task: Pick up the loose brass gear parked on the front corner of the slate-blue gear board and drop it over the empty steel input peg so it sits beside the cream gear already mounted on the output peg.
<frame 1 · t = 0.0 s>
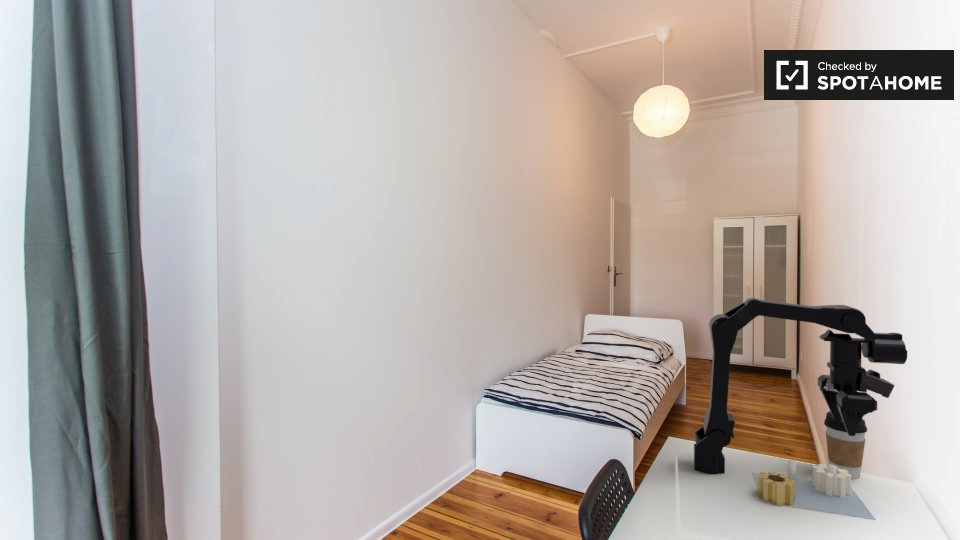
hand: (844, 428, 110), 15 cm above the table, fingers open, 9 cm apart
brass gear: (776, 497, 106), point 1 cm above the table, touching gear board
coffee cup: (844, 477, 117), on the table
gear board: (807, 497, 108), on the table
cream gear: (831, 489, 110), resting on gear board
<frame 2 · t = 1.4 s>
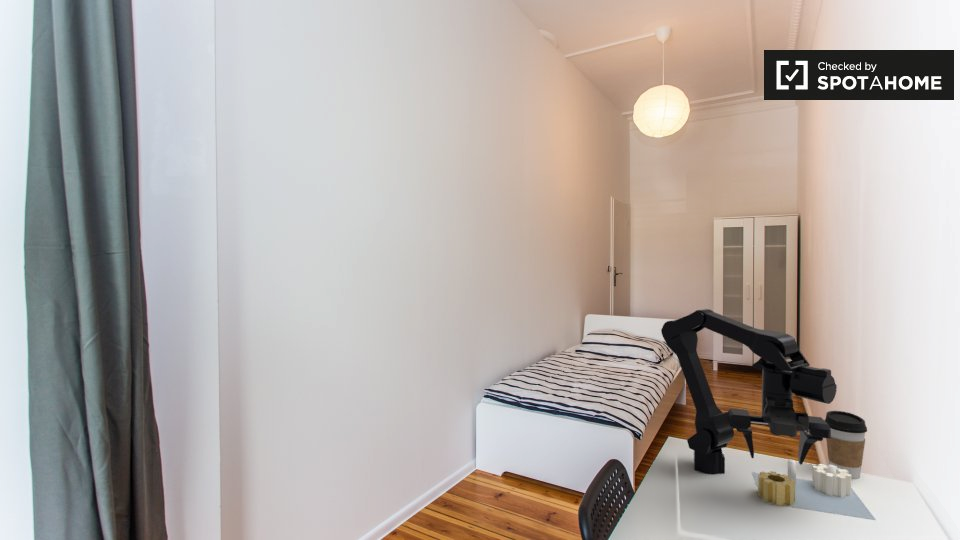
hand: (775, 460, 106), 9 cm above the table, fingers open, 9 cm apart
nothing on the table moved.
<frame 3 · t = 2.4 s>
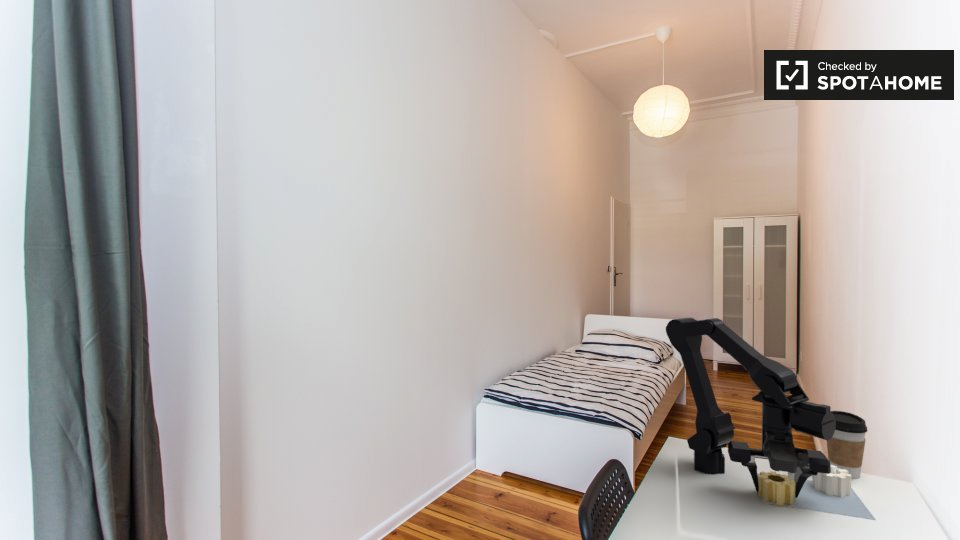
hand: (776, 494, 106), 2 cm above the table, fingers closed on brass gear, 7 cm apart
brass gear: (776, 497, 106), point 1 cm above the table, touching gear board, gripper
everything else where it was.
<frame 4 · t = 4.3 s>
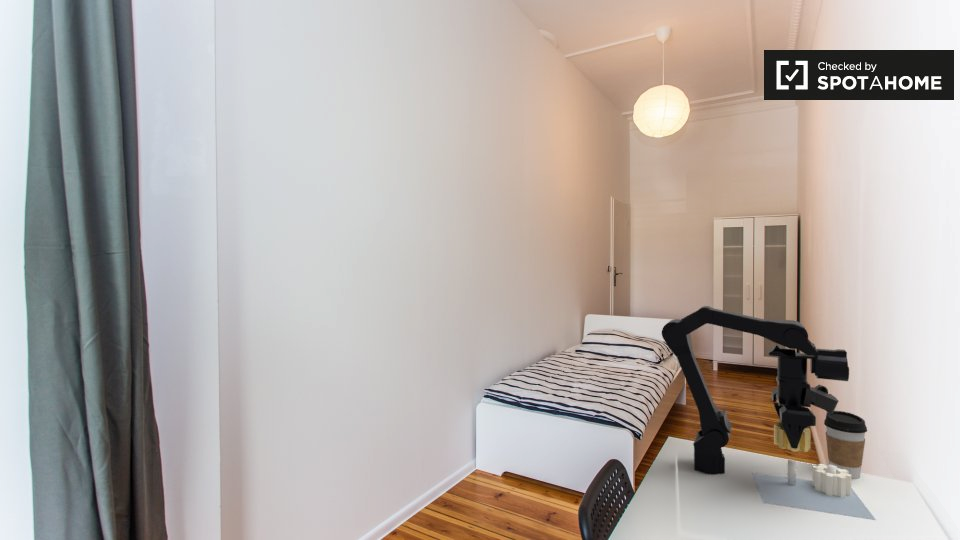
hand: (791, 442, 111), 11 cm above the table, fingers closed on brass gear, 7 cm apart
brass gear: (791, 445, 111), point 10 cm above the table, touching gripper
everything else where it was.
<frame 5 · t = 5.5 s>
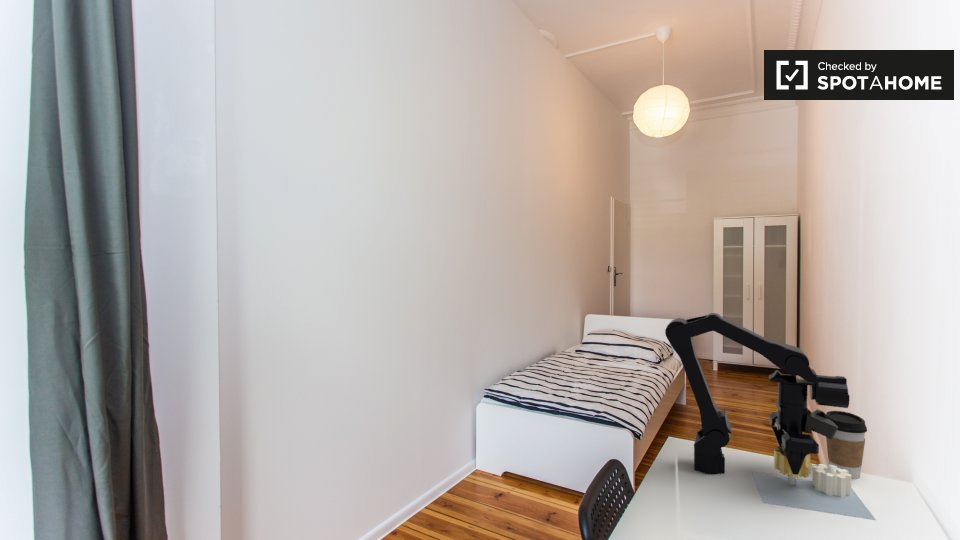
hand: (791, 467, 112), 5 cm above the table, fingers closed on brass gear, 7 cm apart
brass gear: (791, 470, 112), point 4 cm above the table, touching gripper
everything else where it was.
when the fingers open (3 cm above the table, at t = 6.4 s): brass gear drops 1 cm, resting on gear board.
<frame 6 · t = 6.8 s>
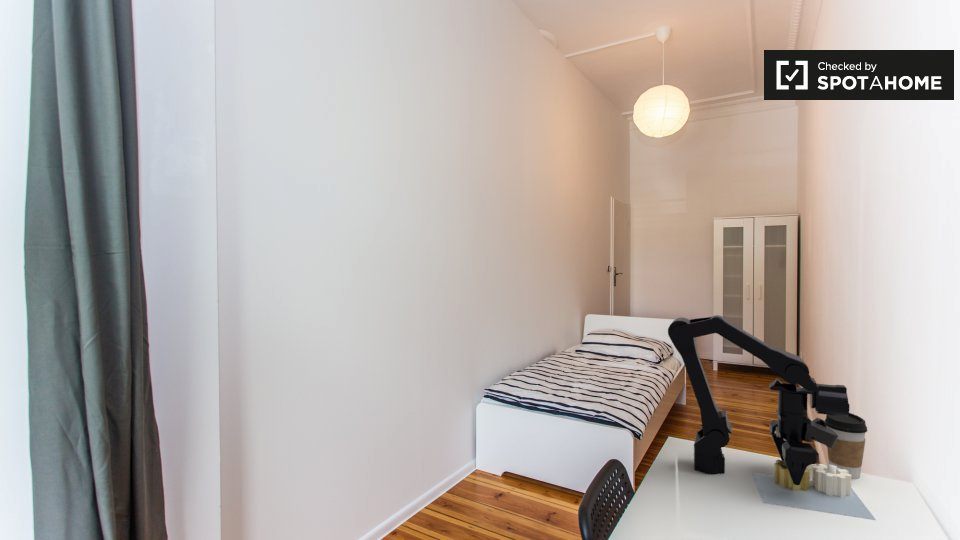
hand: (791, 475, 112), 3 cm above the table, fingers open, 9 cm apart
brass gear: (791, 484, 112), point 1 cm above the table, touching gear board
everything else where it was.
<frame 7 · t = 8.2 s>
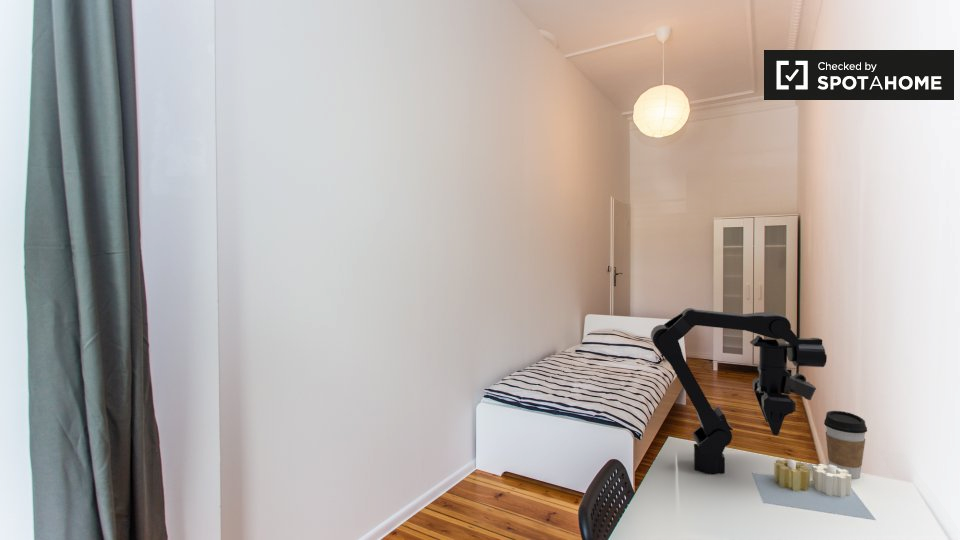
hand: (771, 428, 117), 12 cm above the table, fingers open, 9 cm apart
nothing on the table moved.
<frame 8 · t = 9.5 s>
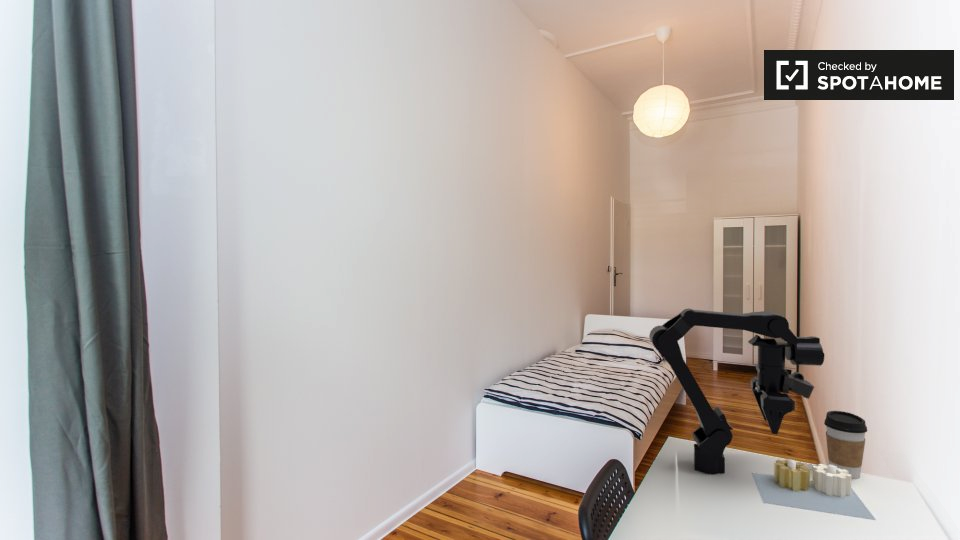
hand: (770, 427, 117), 13 cm above the table, fingers open, 9 cm apart
nothing on the table moved.
at the end: brass gear 0.0 cm from the target spot, point 0.8 cm above the table; brass gear tilted 0°; the gripper is holding nothing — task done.
